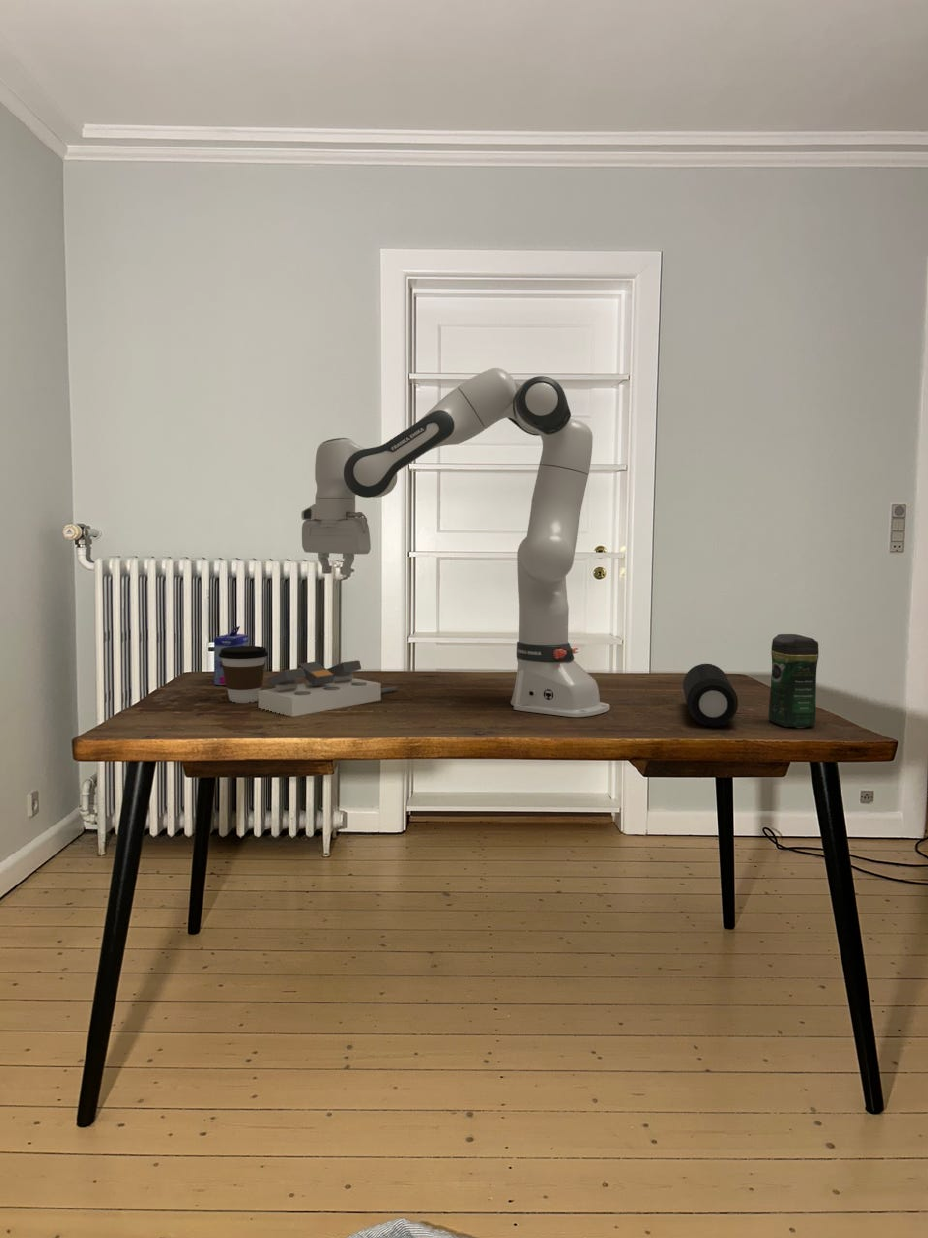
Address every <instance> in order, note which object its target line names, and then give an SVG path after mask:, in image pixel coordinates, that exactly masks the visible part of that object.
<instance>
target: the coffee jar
mask: <svg viewBox="0 0 928 1238" xmlns="http://www.w3.org/2000/svg"><path fill="white" fill-rule="evenodd" d="M770 652H771V654H770V655H771V680H770V693H769V704H768V716H767V717H768V720H770V722H772V723H775V725H780V726H782V727H794V728H795V727H796V728H795V729H805V727H806V728H808V727H813V726H815V725H816V709H817V708H816V706H817V705H816V693H817V692H816V691H817V690H816V688H817V687H816V686H817V683H816V682H817V667H818V666H817V665H818V661H819V642H818V641H816V640H815V639H814V638H812V637H809V636H805V635H800V634H796V633H780V634H777V635H776V636H775V637H774V638H772V643H771V651H770Z"/></svg>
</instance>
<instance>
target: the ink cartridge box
mask: <svg viewBox="0 0 928 1238" xmlns="http://www.w3.org/2000/svg"><path fill="white" fill-rule="evenodd" d="M240 627H241V626H240V625H239V626H235V627H233V628H232V630H231V631H230V633H227V634H223V635H219V636H215V637H214V638H213V667H214V668H213V685H214V686H222V685H226V683H225V677H224V672H223V666H222V665H223V662H222V658H220V657H219V653H221V649H222V648H226V647H234V646H249V634H247V633H246V634H245V633H238V632H239V629H240Z"/></svg>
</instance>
